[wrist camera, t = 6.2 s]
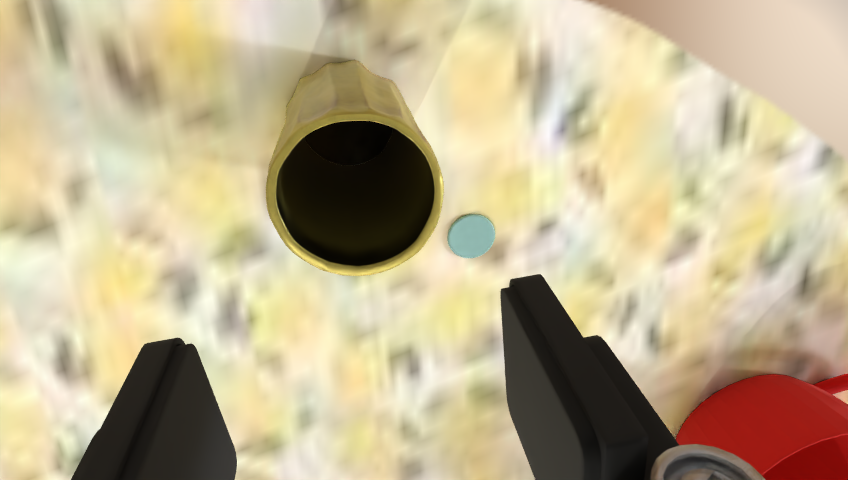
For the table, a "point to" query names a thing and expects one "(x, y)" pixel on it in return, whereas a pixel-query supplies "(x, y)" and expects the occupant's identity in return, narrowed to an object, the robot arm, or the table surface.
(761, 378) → the ceramic cup
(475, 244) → the button
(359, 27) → the table surface
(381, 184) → the vase
